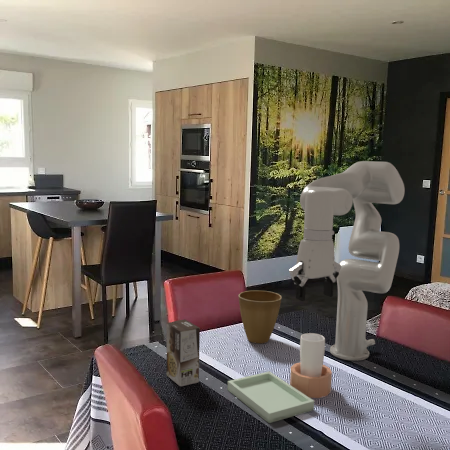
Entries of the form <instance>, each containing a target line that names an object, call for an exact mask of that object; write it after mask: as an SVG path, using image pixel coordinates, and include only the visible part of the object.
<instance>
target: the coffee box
mask: <svg viewBox="0 0 450 450" xmlns="http://www.w3.org/2000/svg"><path fill="white" fill-rule="evenodd" d="M200 330H201V328H200V326H197V325H196V324H194V323H192V322H191V321H189V320H187V319H178V320H175V321H170V322H166V376H167V377H168V378H170V379H171V381H172V382H174V384H175V383H176V384H177V386H179V387H184V386H188V385H192V384H197V383H198V384H199V382H200V344H201V342H200V341H201V340H200V337H201V336H200V334H201V331H200Z"/></svg>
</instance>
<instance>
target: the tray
mask: <svg viewBox="0 0 450 450" xmlns="http://www.w3.org/2000/svg"><path fill="white" fill-rule="evenodd" d="M227 391H228V392H230V394H232V395H233V396H234V397H236V398H237V399H239V401H241V402H242V403H243V404H245V405H246V406H247V408H249V409H250V410H252V412H254V413H256V414H257V415H258V416H259V417H260V418H262V419H263V420H264V421H265V422H266V423H267V424H272V423H275V422H278V421H282V420H284V419H288V418H292V417H294V416H300V415H302V414H306V413H309V412H312V411H314V410H315V400H314V399H313V398H309V397H308V396H306V395H305V394H303V393H302V392H300V391H298V390H297V389H295V388H294V387H292V386H291V385H290V383H288V382H286V380H285V381H284V380H283V379H281V378H280V377H278V376H277V375H276V374H274V373H272V372H271V371H266V372H262V373H261V372H260V373H257V374H254V375H253V374H252V375H248V376H244V377H239V378H235V379H231V380H227Z"/></svg>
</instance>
